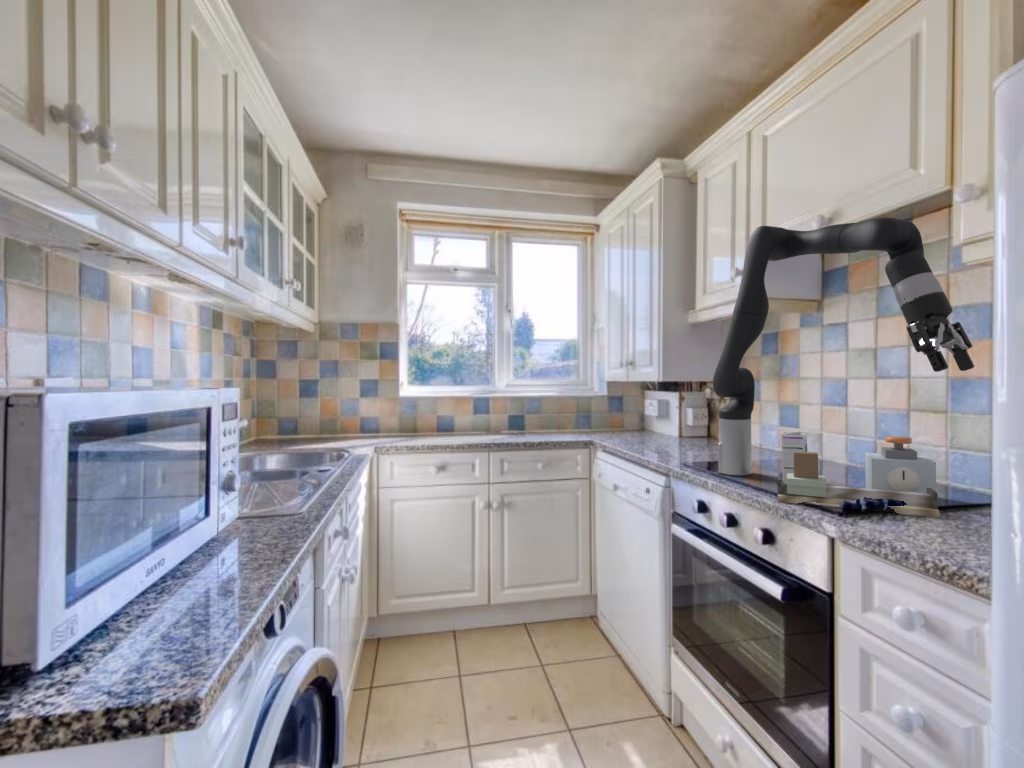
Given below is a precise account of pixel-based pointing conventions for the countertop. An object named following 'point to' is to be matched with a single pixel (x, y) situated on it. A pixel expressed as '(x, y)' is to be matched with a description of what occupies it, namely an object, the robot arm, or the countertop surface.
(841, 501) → the rail base
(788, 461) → the syrup box
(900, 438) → the button
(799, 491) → the brown block on pedestal
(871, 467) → the gauge cabinet
